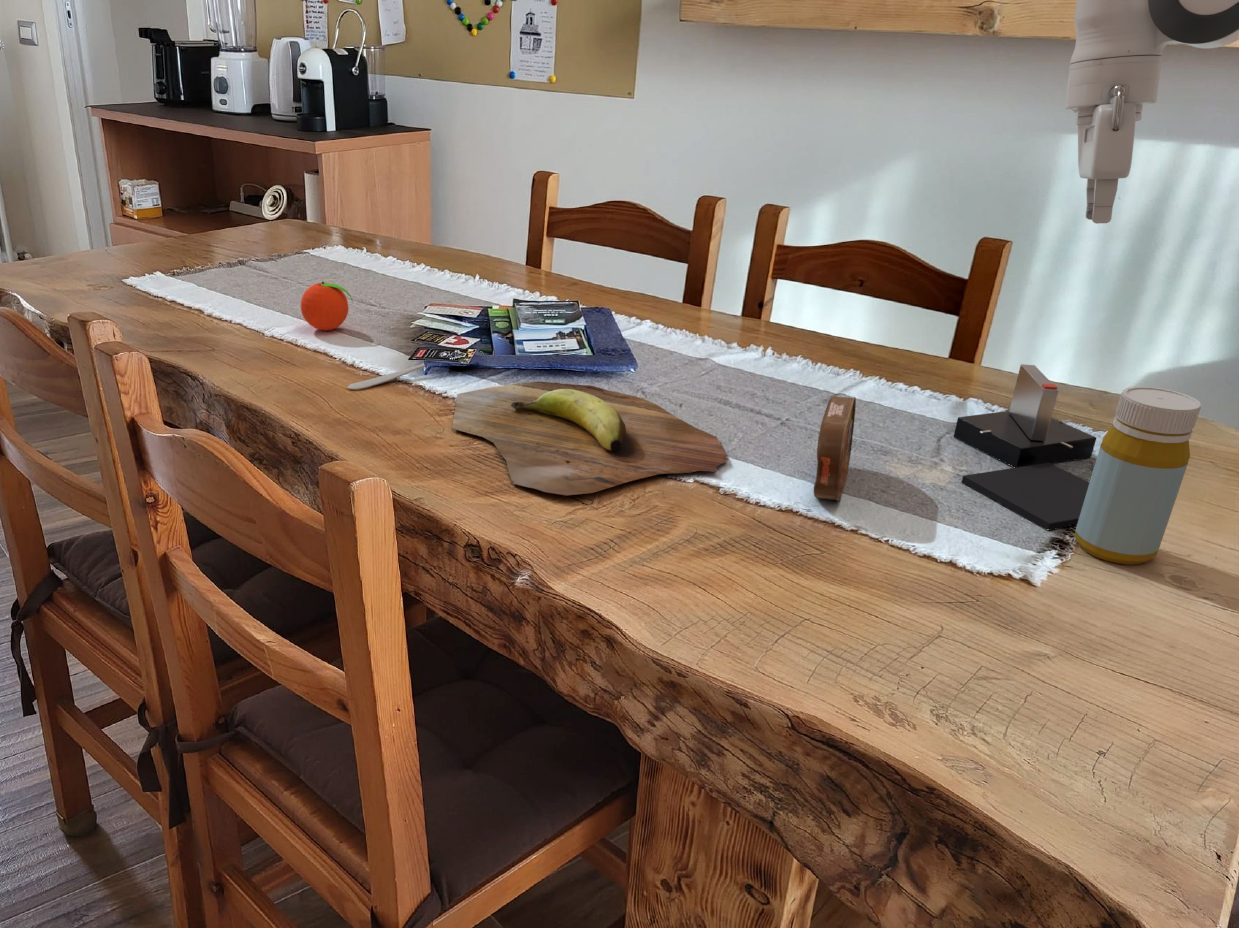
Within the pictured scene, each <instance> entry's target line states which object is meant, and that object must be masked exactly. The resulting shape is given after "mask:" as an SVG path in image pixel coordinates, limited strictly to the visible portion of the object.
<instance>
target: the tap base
mask: <svg viewBox="0 0 1239 928" xmlns="http://www.w3.org/2000/svg"><path fill="white" fill-rule="evenodd" d="M983 409H984V410H987V411H989V412H990V413H982V414H980V413H979V414H973V415H966V416H958V417H957V420H956V425H955V427H954V433H953V438H954V439H957V440H959V441H960V442H963V443H965V442H966V443H965V444H967V443H968V444H967V445H969V446H971V445H972V446H973V447H972V446H971V447H972V448H974V447H975V449H976V448H978V449H979V450H978V449H977V450H978V451H980V450H981V451H980V452H982V451H984V452H985V453H984V452H983V453H984V454H986V453H988V454H989V455H988V454H987V455H988V456H990V455H991V456H990V457H992V456H994V457H995V458H994V457H993V458H994V459H996V458H997V459H996V460H998V459H1000V460H1001V461H1000V460H999V461H1000V462H1002V461H1004V462H1006V463H1007V464H1006V463H1005V464H1006V465H1008V464H1010V465H1012V466H1013V467H1015V468H1017V467H1023V466H1030V465H1037V464H1043V463H1051V464H1057V463H1056V462H1059V463H1063V462H1062V461H1066V462H1072V461H1076V460H1075V459H1079V460H1085V459H1090V457H1091V458H1092V455H1093V453H1094V448H1095V445H1096V442H1097V437H1096V436H1094V435H1092V434H1090V433H1087V432H1085V431H1082V430H1080V429H1079V428H1077V427H1074V426H1071V425H1069V424H1067V423H1071V422H1072V419H1061V420H1058V419H1056V418H1053V417H1051V421H1050V424H1049V428H1048V432H1047V435H1046V439H1045V441H1035V440H1030V439H1029V438H1028V436H1027V435H1026V434H1025V433H1024V431H1023V430H1022V429H1021V427H1020V426H1019V425H1018V424H1017V422H1016V421H1015V420H1014V418H1013V417H1012V416H1011V415H1010V413H1009V410H1005V411H997V412H995V409H992V408H990V407H988V406H983ZM1071 460H1072V461H1071ZM1004 462H1003V463H1004ZM1013 467H1012V468H1013Z"/></svg>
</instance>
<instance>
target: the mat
mask: <svg viewBox="0 0 1239 928" xmlns="http://www.w3.org/2000/svg"><path fill="white" fill-rule="evenodd" d="M961 483H962V484H964V483H965V484H964V485H966V486H968V487H969V486H970V487H969V488H971V487H972V488H971V489H973V490H975V491H977V492H978V491H979V492H978V493H980V492H981V493H980V494H982V495H984V494H985V495H986V497H987V496H988V497H987V498H989V497H990V498H989V499H991V500H992V501H994V500H995V501H994V502H997V503H998V504H1000V505H1001V506H1003V505H1004V507H1005V508H1007V507H1008V508H1007V509H1008V510H1010V511H1012V510H1013V511H1012V512H1013V513H1016V514H1018V515H1019V516H1021V517H1023V518H1024V519H1027V520H1028V519H1029V520H1028V521H1030V522H1032V523H1034V524H1035V525H1037V524H1038V525H1037V526H1039V527H1041V526H1042V527H1041V528H1043V529H1044V528H1045V530H1046V529H1049V530H1048V531H1051V530H1050V529H1053V530H1056V529H1055V528H1059V529H1062V528H1061V527H1065V526H1069V525H1072V524H1077V523H1078V520H1079V517H1080V513H1081V510H1082V507H1083V503H1084V500H1085V496H1086V493H1087V490H1088V486H1089V483H1090V481H1087V480H1086V479H1084V478H1081V477H1079V476H1078V475H1076V474H1074V473H1071V472H1069V471H1068V470H1065V469H1064V468H1061V467H1059V466H1057V465H1055V464H1054V463H1052V464H1051V463H1043V464H1037V465H1030V466H1023V467H1017V468H1013V467H1012V468H1004V469H998V470H991V471H985V472H984V471H983V472H978V473H969V474H965V475H964V474H963V475H962V478H961ZM985 495H984V496H985ZM1065 528H1066V527H1065Z"/></svg>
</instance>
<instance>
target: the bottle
mask: <svg viewBox="0 0 1239 928" xmlns="http://www.w3.org/2000/svg"><path fill="white" fill-rule="evenodd" d="M1201 406H1202V403H1201V402H1200V401H1199V400H1198V399H1196V398H1195V397H1193V396H1191V395H1188V394H1186V393H1184V392H1179V391H1176V390H1172V389H1168V388H1162V387H1154V386H1130V387H1129V386H1128V387H1126V388H1124V389H1123V390H1122V391H1121V393H1120V396H1119V400H1118V404H1117V406H1116V410H1115V416H1114V418H1113V421H1112V426H1111V427H1110V428H1109V430H1108V431H1107V432H1106V433H1105V434H1104V435H1103V437H1102V439H1101V443H1100V446H1099V449H1098V453H1097V457H1096V460H1095V463H1094V466H1093V469H1092V474H1091V476H1090V480H1089V482H1090V483H1089V486H1088V490H1087V493H1086V496H1085V500H1084V503H1083V507H1082V510H1081V513H1080V517H1079V520H1078V523H1077V525H1076V526H1075V532H1074V539H1075V541H1076V542H1077V543H1078V545H1079V547H1080V549H1082V550H1083V551H1084V552H1085V553H1087V554H1089V555H1091V556H1092V557H1095V558H1098V559H1099V560H1100V559H1101V560H1103V561H1105V562H1110V563H1114V564H1119V565H1126V566H1127V565H1140V564H1144V563H1147V562H1149V561H1150V560H1152V559H1154V558H1155V557H1157V555H1158V552H1159V550H1160V547H1161V544H1162V541H1163V538H1164V535H1165V532H1166V530H1167V526H1168V524H1169V520H1170V518H1171V515H1172V512H1173V508H1174V506H1175V503H1176V500H1177V497H1178V494H1179V491H1180V488H1181V485H1182V482H1183V480H1184V477H1185V473H1186V470H1187V467H1188V465H1189V460H1190V458H1191V452H1190V451H1191V450H1190V449H1191V448H1190V439H1191V437H1192V434H1193V430H1194V428H1195V426H1196V423H1197V420H1198V417H1199V414H1200V412H1201V408H1202V407H1201Z"/></svg>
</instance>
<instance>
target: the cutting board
mask: <svg viewBox="0 0 1239 928" xmlns="http://www.w3.org/2000/svg"><path fill="white" fill-rule="evenodd" d="M452 430H456V431H459V432H463V433H467V434H469V435H472V436H473V435H474V436H478V437H482V438H483V439H485V440H487V441H489V442H491V443H493V444H494V446H495V448H496V449H497V451H498V453H499V454H500V456H502V458H503V459H504V460H505V463H506V466H507V470H508V471H507V472H508V475H509V478H510V480H511V482H512V484H513V485H516V486H517V485H518V486H521V487H525V488H528V489H529V488H530V489H534V490H537V491H541V492H544V493H548V494H556V495H561V496H574V495H583V494H584V495H585V494H595V493H596V492H600V491H603V490H606V489H610V488H613V487H617V486H619V485H622V484H627V483H628V482H632V481H636V480H637V481H638V480H641V479H645V478H648V477H653V476H658V475H664V474H691V473H693V472H712V473H718V470H717V468H718V467H719V466H721V465H722V464H724V463H725V462H726V461H728V460H729V458H728V455H727V454H726V452H725V450H724V449H723V446H722V444H721V442H720V440H719V438H718V437H717V436H716V435H713V434H711V433H710V432H709V433H708V432H706V431H705V430H702V429H701V428H698V427H695V426H694V425H691V424H690V423H688V422H687V421H685V420H682V419H681V418H679V417H677V416H675V415H674V414H672V413H671V412H669V411H668V410H666V409H664V408H663V407H661V406H660V405H658V404H656V403H654V402H652V401H649V400H647V399H645V398H643V397H639V396H635V395H631V394H626V393H622V392H618V391H613V390H608V389H605V388H601V387H599V386H595V385H591V384H586V385H585V384H573V383H561V382H549V381H532V382H530V381H529V382H522V383H514V384H513V383H512V384H506V385H499V386H490V387H485V388H481V389H475V390H471V391H465V392H460V393H457V394H456V400H455V407H454V414H453V420H452Z"/></svg>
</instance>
